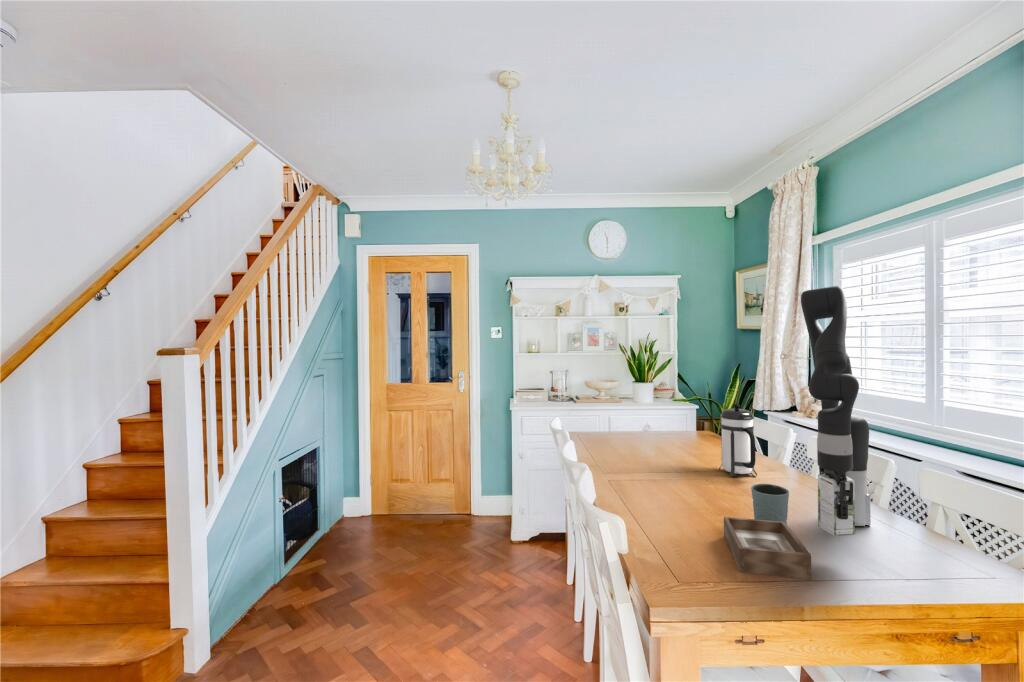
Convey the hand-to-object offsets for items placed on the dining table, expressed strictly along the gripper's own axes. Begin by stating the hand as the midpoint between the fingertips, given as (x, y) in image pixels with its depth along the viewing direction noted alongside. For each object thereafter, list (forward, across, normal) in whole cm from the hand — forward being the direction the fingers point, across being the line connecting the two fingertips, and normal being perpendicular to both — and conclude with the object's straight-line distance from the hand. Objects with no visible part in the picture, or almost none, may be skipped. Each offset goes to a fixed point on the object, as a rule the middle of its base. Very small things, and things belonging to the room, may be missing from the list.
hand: (835, 512), depth 118 cm
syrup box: (+5, 0, 0) cm, 5 cm away
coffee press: (+14, +73, +7) cm, 75 cm away
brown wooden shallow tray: (+13, -1, +18) cm, 22 cm away
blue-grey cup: (+13, +19, +10) cm, 25 cm away
